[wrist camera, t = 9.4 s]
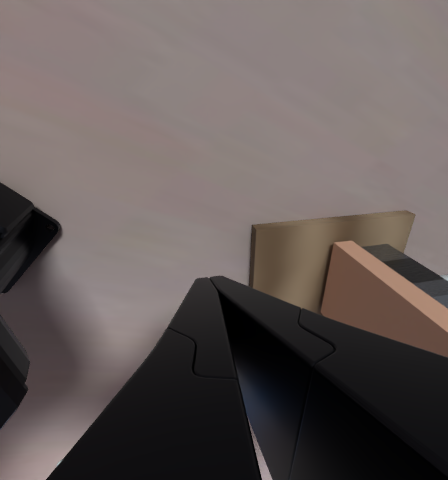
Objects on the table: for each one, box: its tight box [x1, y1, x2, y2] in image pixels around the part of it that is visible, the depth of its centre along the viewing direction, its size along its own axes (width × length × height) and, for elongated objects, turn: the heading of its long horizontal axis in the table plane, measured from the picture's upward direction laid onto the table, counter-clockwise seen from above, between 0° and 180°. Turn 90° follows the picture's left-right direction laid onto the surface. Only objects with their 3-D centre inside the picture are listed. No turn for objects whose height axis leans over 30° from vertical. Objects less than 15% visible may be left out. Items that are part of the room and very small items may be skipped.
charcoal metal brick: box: [362, 244, 448, 309], centre depth 22 cm, size 4×5×7 cm
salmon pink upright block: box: [321, 241, 448, 357], centre depth 21 cm, size 10×7×10 cm
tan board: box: [249, 211, 415, 316], centre depth 25 cm, size 14×10×1 cm
